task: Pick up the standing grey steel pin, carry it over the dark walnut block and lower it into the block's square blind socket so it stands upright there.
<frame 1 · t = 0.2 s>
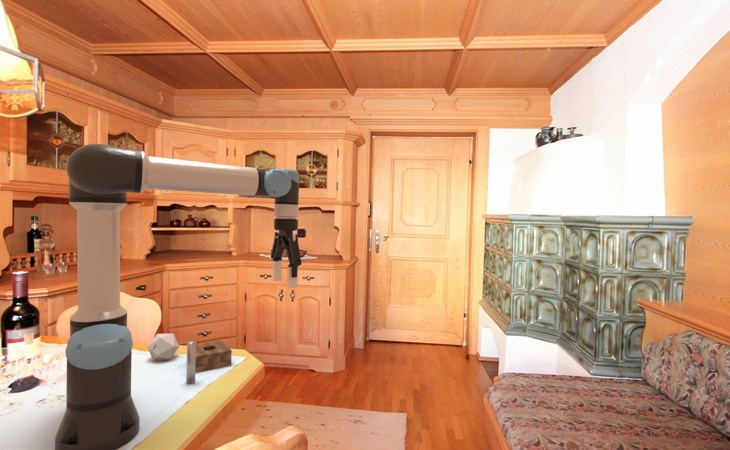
hand: (284, 284, 121), 28 cm above the table, fingers open, 13 cm apart
socket block: (209, 363, 125), on the table
die: (163, 358, 128), on the table
pin: (190, 382, 110), on the table
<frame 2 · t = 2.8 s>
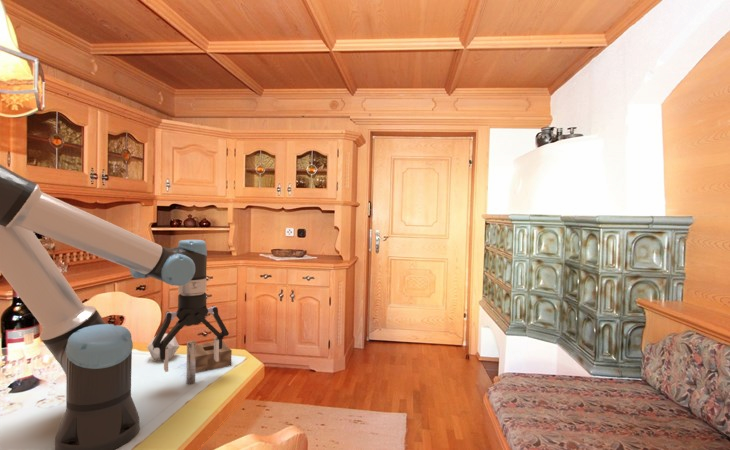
hand: (192, 364, 110), 5 cm above the table, fingers open, 13 cm apart
nothing on the table moved.
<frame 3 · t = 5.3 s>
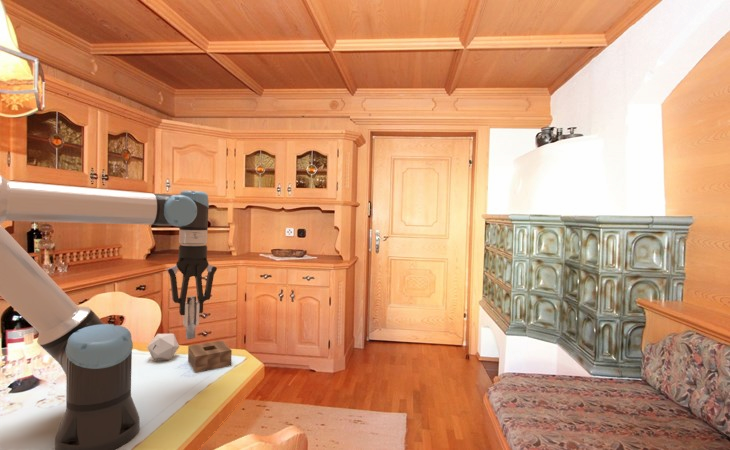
hand: (190, 325, 110), 17 cm above the table, fingers closed on pin, 2 cm apart
pin: (190, 337, 110), point 13 cm above the table, touching gripper
everything else where it was.
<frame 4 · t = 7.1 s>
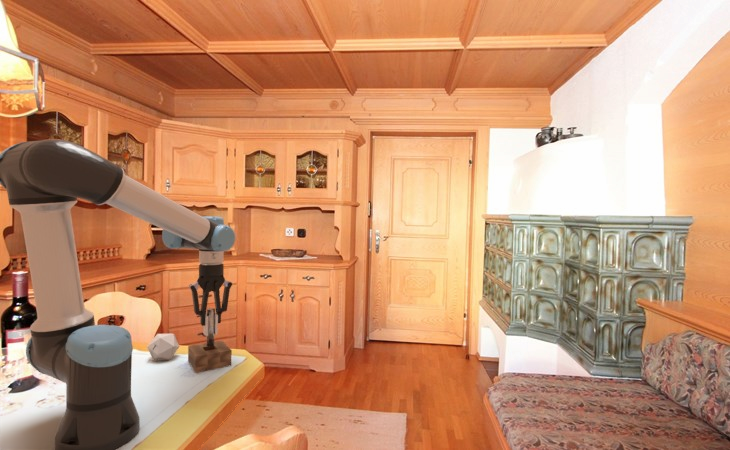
hand: (210, 333, 125), 10 cm above the table, fingers closed on pin, 2 cm apart
pin: (210, 345, 125), point 6 cm above the table, touching gripper
everything else where it was.
when the fingers open (6 cm above the table, at t = 8.4 s): pin stays where it is, resting on socket block.
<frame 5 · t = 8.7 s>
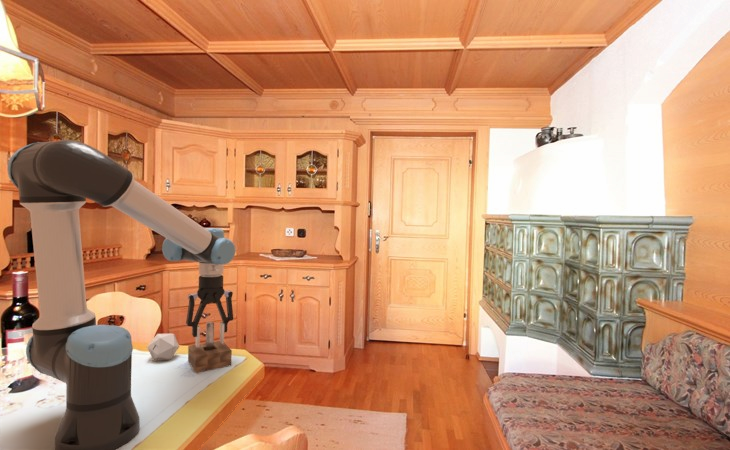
hand: (209, 344, 125), 6 cm above the table, fingers open, 7 cm apart
pin: (209, 358, 125), point 2 cm above the table, touching socket block
everything else where it was.
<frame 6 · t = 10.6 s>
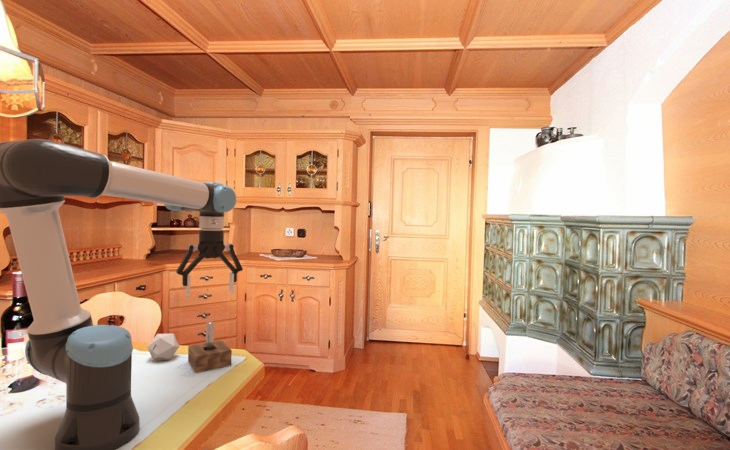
hand: (210, 294, 124), 23 cm above the table, fingers open, 13 cm apart
nothing on the table moved.
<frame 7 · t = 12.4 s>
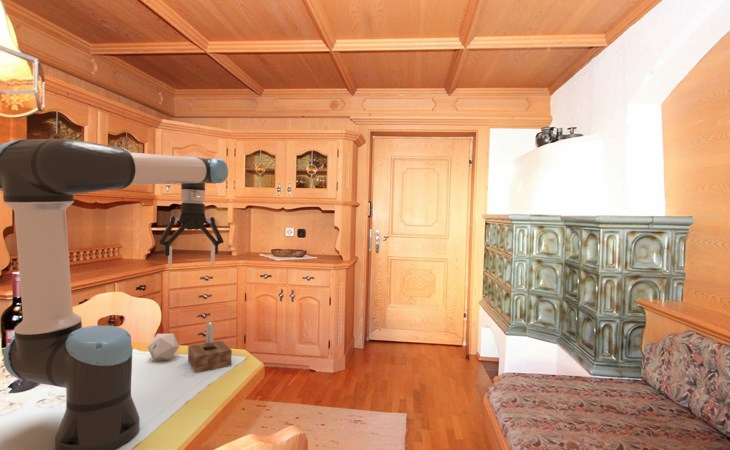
hand: (191, 264, 130), 32 cm above the table, fingers open, 13 cm apart
nothing on the table moved.
at the end: pin 0.1 cm off-centre on the socket block, point 1.5 cm above the socket block's base; pin tilted 0°; the gripper is holding nothing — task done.
